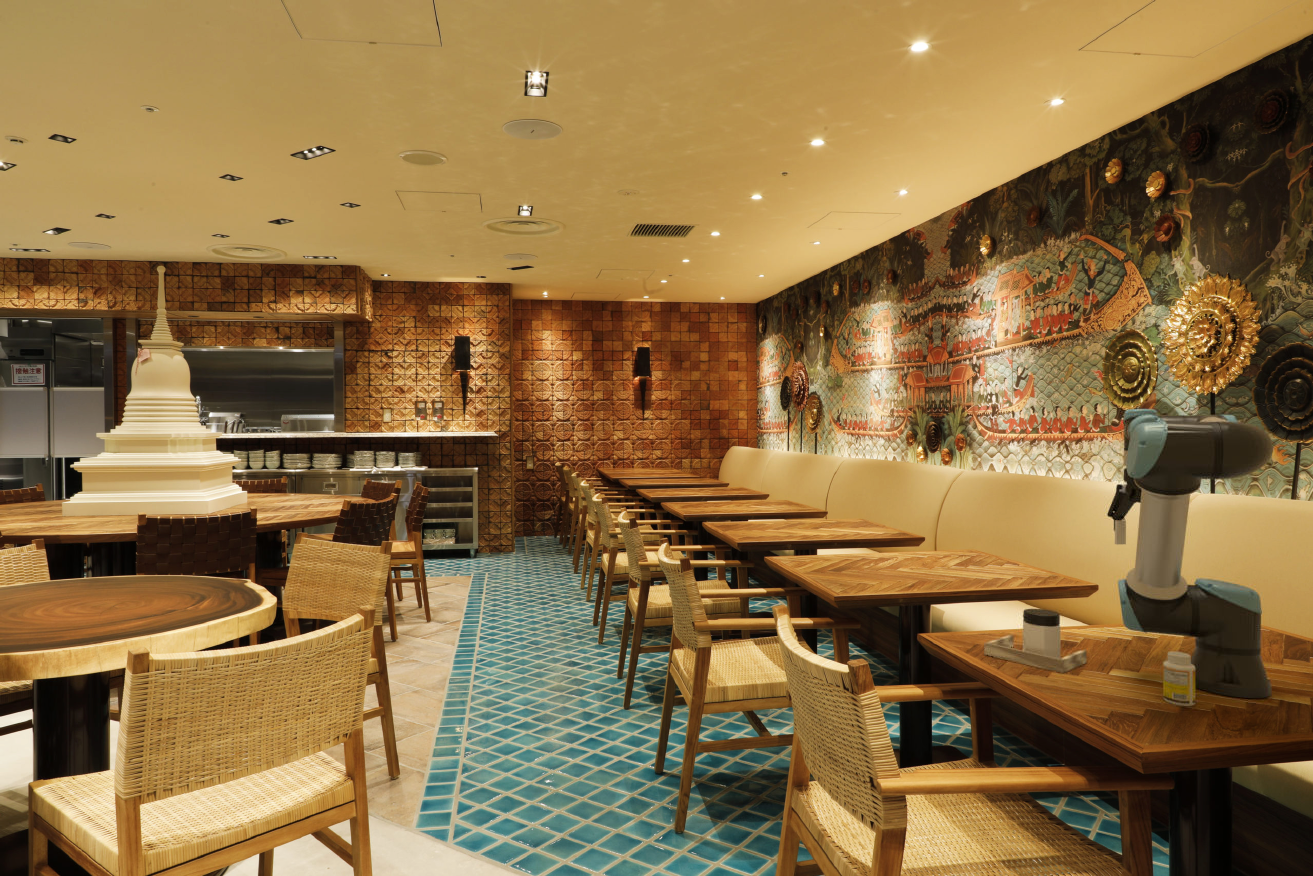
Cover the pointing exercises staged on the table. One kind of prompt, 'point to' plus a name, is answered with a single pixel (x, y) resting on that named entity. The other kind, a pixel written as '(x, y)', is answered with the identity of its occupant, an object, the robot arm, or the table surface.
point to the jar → (1041, 632)
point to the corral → (1032, 656)
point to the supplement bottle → (1179, 679)
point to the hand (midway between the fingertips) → (1140, 548)
